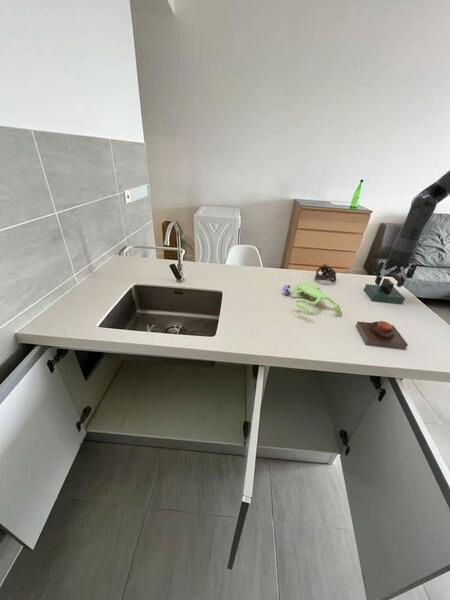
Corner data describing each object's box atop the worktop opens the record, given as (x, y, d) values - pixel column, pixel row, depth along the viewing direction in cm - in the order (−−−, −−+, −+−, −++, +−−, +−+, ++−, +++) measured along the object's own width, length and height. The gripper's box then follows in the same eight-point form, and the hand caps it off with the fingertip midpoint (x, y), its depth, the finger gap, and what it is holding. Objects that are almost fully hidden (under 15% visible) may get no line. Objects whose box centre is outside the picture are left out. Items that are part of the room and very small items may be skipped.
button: (386, 326, 81) (388, 321, 80) (392, 333, 78) (394, 329, 77) (374, 324, 81) (376, 320, 81) (379, 332, 78) (381, 327, 77)
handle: (379, 287, 107) (384, 277, 104) (384, 287, 106) (388, 278, 104) (385, 293, 102) (389, 283, 99) (389, 294, 102) (394, 284, 99)
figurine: (298, 322, 87) (301, 309, 84) (276, 286, 109) (278, 275, 106) (346, 320, 89) (351, 308, 86) (315, 286, 111) (318, 275, 108)
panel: (391, 292, 109) (394, 286, 108) (402, 304, 101) (405, 297, 99) (363, 289, 111) (366, 283, 109) (372, 301, 102) (374, 294, 100)
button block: (390, 330, 85) (395, 321, 83) (405, 349, 77) (410, 340, 75) (355, 326, 86) (359, 317, 84) (365, 345, 78) (370, 335, 76)
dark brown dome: (339, 286, 114) (337, 273, 108) (318, 291, 117) (315, 279, 112) (332, 269, 122) (330, 257, 117) (313, 275, 125) (310, 263, 120)
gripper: (418, 246, 97) (401, 283, 105) (380, 243, 98) (366, 279, 106) (429, 253, 90) (410, 291, 99) (388, 250, 92) (373, 287, 100)
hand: (387, 285), depth 103 cm, fingers open, 8 cm apart
